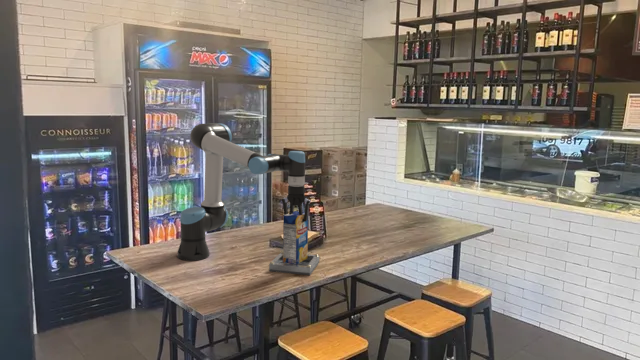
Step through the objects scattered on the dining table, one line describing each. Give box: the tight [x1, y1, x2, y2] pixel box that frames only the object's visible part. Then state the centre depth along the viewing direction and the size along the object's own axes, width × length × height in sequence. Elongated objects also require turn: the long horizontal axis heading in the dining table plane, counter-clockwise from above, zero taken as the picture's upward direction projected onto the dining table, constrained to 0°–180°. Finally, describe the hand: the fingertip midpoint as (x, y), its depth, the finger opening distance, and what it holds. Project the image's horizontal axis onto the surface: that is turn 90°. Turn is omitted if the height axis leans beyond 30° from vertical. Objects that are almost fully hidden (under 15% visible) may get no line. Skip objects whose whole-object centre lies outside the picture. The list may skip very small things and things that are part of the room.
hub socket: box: [268, 250, 320, 276], centre depth 227 cm, size 19×19×4 cm
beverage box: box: [282, 210, 309, 265], centre depth 225 cm, size 7×11×22 cm, turn 153°
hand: (295, 235), depth 225 cm, fingers closed on beverage box, 3 cm apart
